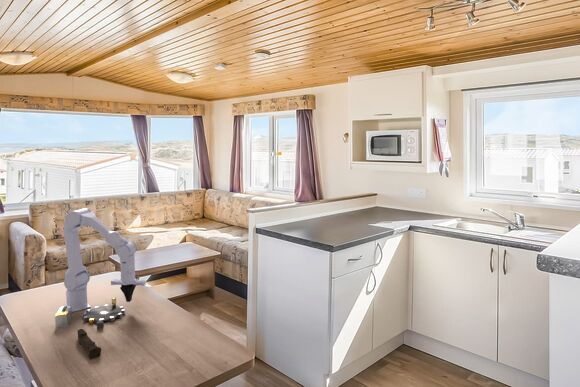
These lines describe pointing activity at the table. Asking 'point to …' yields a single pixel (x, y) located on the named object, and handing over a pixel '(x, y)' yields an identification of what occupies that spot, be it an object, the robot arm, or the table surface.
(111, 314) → the sprocket
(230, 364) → the table surface
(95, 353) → the dark brown bar
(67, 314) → the knob box
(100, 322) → the index pointer
